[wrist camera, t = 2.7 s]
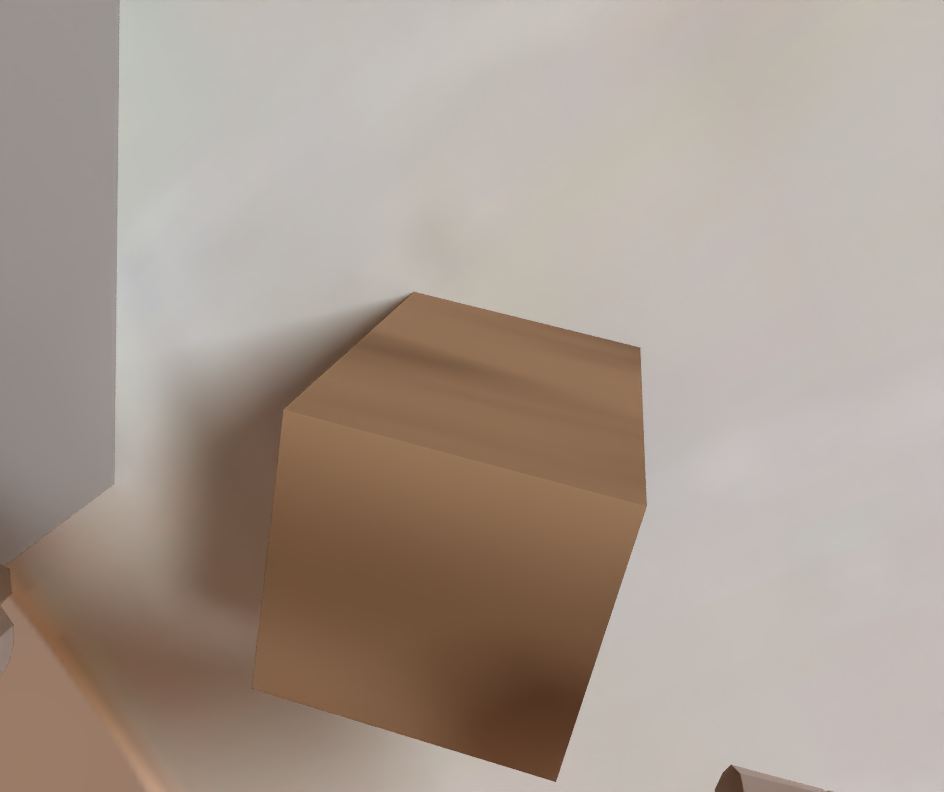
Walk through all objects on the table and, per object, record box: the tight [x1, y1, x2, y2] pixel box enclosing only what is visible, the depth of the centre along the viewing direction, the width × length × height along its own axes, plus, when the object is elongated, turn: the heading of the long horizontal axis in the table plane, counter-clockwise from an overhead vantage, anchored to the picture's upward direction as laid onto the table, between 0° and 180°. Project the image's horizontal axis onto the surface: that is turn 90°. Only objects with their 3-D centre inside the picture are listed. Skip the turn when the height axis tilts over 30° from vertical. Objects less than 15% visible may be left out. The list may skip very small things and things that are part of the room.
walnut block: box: [252, 292, 647, 782], centre depth 15 cm, size 5×5×7 cm
